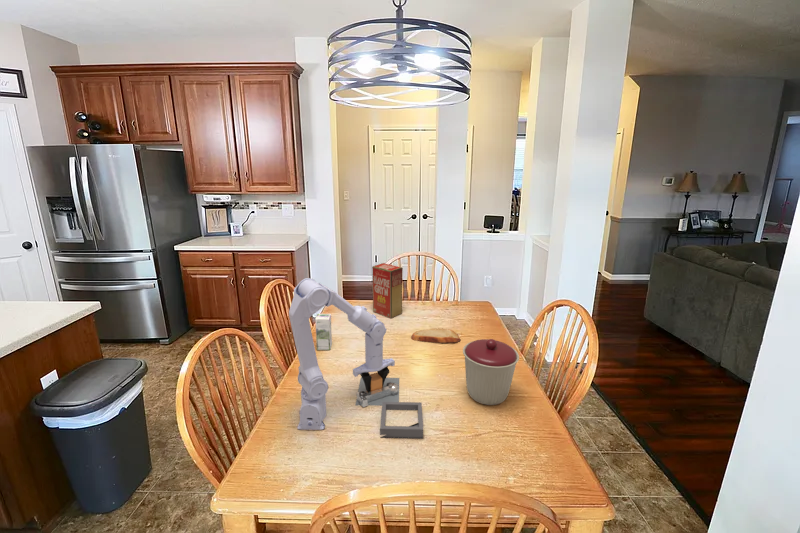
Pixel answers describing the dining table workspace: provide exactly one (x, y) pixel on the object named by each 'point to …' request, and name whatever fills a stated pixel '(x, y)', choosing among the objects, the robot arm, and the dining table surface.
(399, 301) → the food packaging
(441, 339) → the slice of bread
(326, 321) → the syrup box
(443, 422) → the dining table surface
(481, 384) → the canister
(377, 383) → the block
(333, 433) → the dining table surface
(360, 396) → the crank
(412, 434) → the tray
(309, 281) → the robot arm
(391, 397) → the crank board
